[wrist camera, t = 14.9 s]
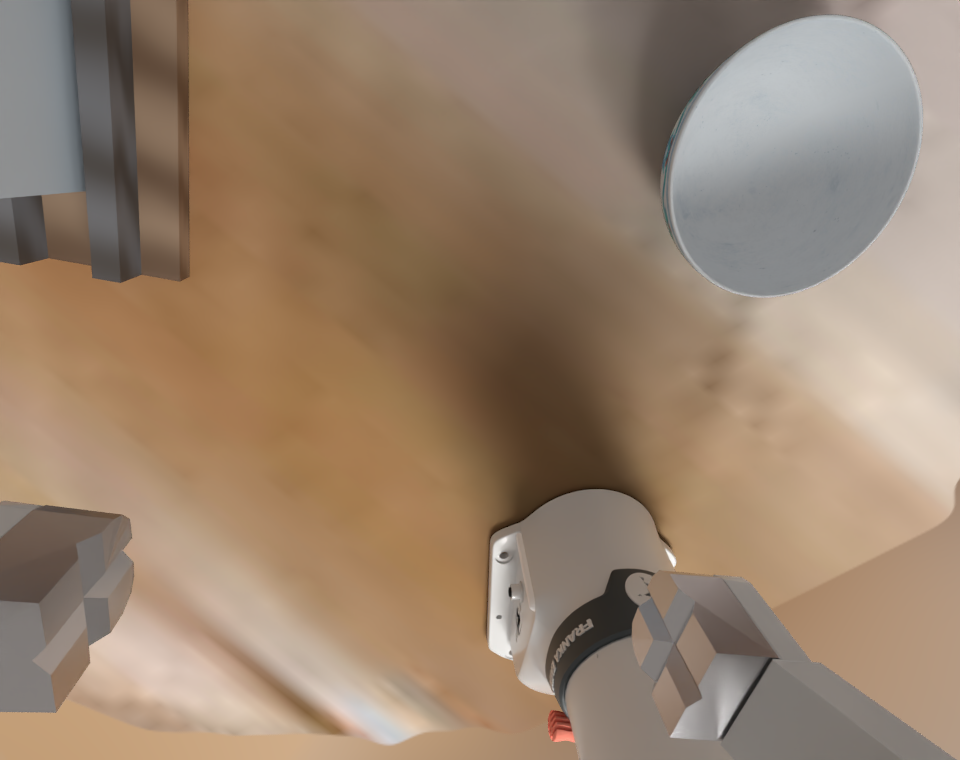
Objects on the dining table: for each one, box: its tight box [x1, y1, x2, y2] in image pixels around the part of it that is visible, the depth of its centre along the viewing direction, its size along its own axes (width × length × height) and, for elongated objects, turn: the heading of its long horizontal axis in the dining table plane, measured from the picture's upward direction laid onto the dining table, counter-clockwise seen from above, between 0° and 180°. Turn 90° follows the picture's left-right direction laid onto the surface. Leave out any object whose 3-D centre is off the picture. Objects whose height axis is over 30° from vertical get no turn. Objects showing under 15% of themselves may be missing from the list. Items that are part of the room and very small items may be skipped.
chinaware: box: [660, 15, 923, 298], centre depth 32 cm, size 15×15×8 cm
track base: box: [0, 0, 189, 283], centre depth 28 cm, size 26×12×4 cm, turn 168°
